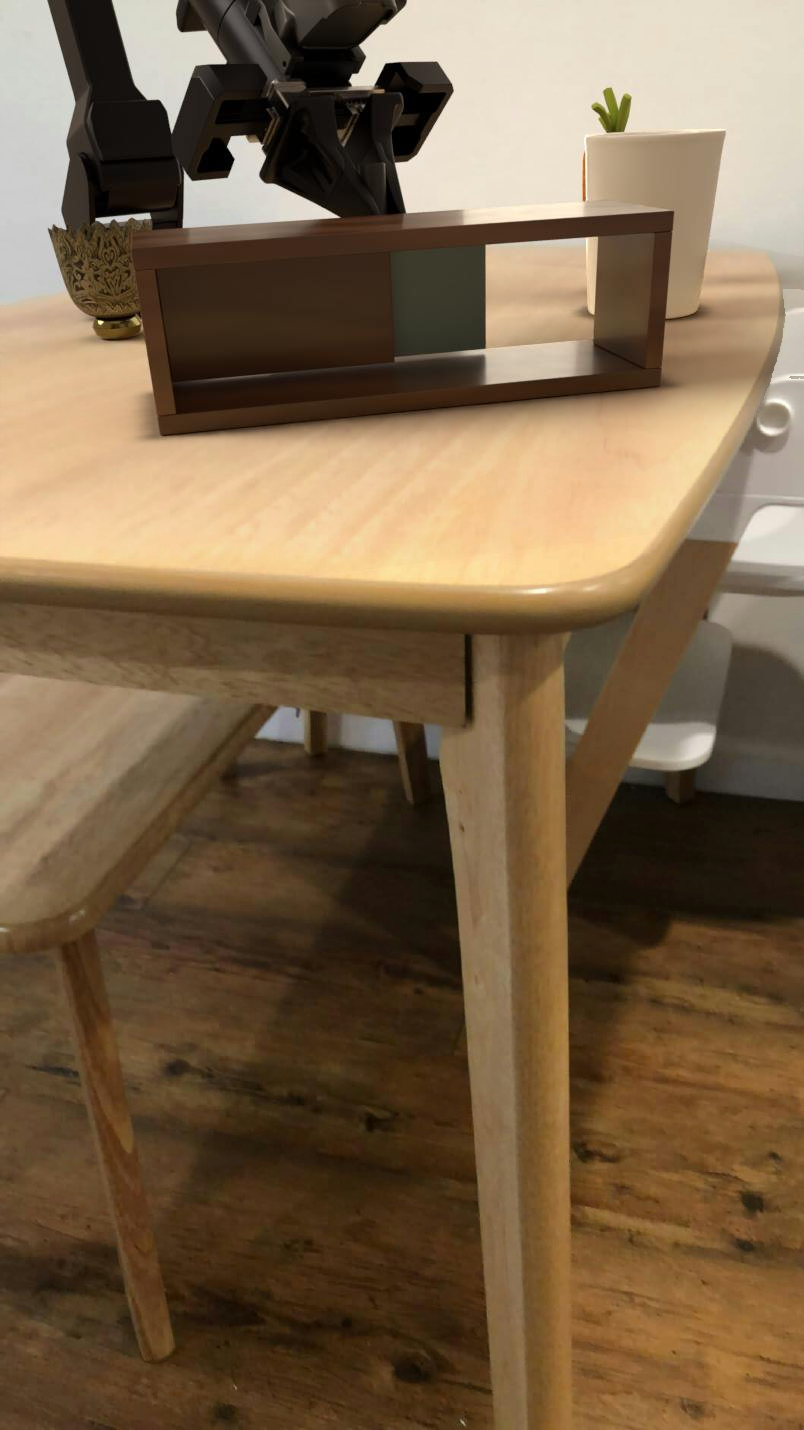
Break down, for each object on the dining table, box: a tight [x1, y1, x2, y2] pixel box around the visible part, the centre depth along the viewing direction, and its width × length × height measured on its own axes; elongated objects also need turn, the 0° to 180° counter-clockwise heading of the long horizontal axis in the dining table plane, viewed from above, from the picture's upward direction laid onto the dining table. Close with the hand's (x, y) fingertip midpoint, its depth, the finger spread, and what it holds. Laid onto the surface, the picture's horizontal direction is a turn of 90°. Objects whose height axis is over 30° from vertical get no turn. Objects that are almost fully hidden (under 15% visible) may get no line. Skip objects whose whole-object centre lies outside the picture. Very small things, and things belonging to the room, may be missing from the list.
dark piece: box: [358, 162, 487, 357], centre depth 63 cm, size 5×13×10 cm, turn 103°
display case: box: [131, 200, 674, 436], centre depth 59 cm, size 10×28×9 cm, turn 103°
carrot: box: [581, 87, 633, 202], centre depth 87 cm, size 5×5×15 cm
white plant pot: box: [583, 128, 727, 320], centre depth 77 cm, size 10×10×12 cm
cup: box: [47, 217, 152, 340], centre depth 78 cm, size 8×7×8 cm
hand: (390, 227), depth 63 cm, fingers closed on dark piece, 2 cm apart
